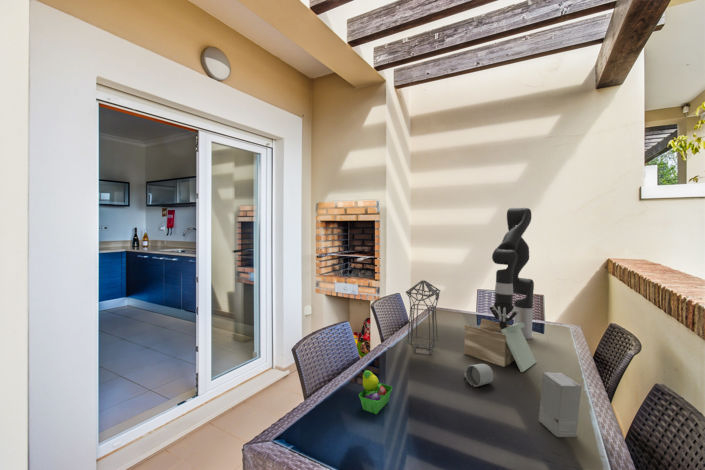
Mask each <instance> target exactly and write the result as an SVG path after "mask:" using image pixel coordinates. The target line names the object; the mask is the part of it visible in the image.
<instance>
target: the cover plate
mask: <svg viewBox="0 0 705 470" xmlns="http://www.w3.org/2000/svg"><path fill="white" fill-rule="evenodd" d="M523 327H525V325H524V323H523V322H521V323H516V324H514V323H513V324H512V325H511V326H509V327H507V328H505V329H502V330H501V331H502V333H503V335H506V338H505V340H506V342H507V344H508V346H509V348H510V350H511V352H512V355H513V357H514V359H515V360H514V361H515V364H516V365H517V367H518V369H519V371H520V373H523V372H525V371H527V369H529V368H530V367H532V366H533V365H535V364H536V363H537V359H536V358H535V355H534V354H533V352H532V350H531V347H530V345H529V343H528V341H527V339H525V337H524V335H523V333H522V331H521V328H523Z"/></svg>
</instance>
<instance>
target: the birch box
mask: <svg viewBox="0 0 705 470" xmlns="http://www.w3.org/2000/svg"><path fill="white" fill-rule="evenodd" d="M480 320H481V322H480V323H479V324H480V326H479V327H480V328H479V327H476V326H472V325H469V324H468V325H467V324H464V351H463V352H464V353H463V354H465V355H467V356H470V357H473V358H477V359H480V360H482V361H485V362H488V363H492V364H494V365H498V366H500V367H504V368H505V367H507V366H509V365H510V364H511V363H513V362H514V361H515V359H514V357H513V355H512V352H511V350H510V348H509V346H508V344H507V342H506V340H505V338H506V335H503V333H502V331H501V330H502V329H501V328H500V326H499V325H500V322H496V321H492V320H488V319H485V318H481V319H480ZM509 326H511V325H510V324H507V327H509ZM495 332H497V333H495ZM499 333H501V334H499Z"/></svg>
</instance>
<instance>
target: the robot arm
mask: <svg viewBox="0 0 705 470" xmlns="http://www.w3.org/2000/svg"><path fill="white" fill-rule="evenodd" d="M531 221H532V210H531V209H530V208H528V207H511V208H508V209H507V210H506V223H507V230H508V231H507V232H506V233H505V234H504V237H503V238H502V241H501V242H500V244H499V245H498V246H497V247H496V248H495V249H494V251H493V253H492V254H491V259H492V261H493V263H495V264H496V265H503V266H504V265H505V266H506V265H507V267H506V268H503V269H502V268H501V269H497V270H496V272H495V287H494V304H493V305H492V306H490V307H489V310H490V312H491V314H492V315H493V316H494V319H496V320H498V321H499V323H500V325H499V326H500V328H501V329H505V328H507V325H508V322H510V321H512V320H513V324H516V323H521V322H523V323H524V325H525V327H523V328H521V331H522V333H523V335H524V337H525V339H526V340H531V339H533V311H534V310H533V305H534V290H535V288H534V287H535V283H534V280H533V279H532V278H526V277H525V278H523V277H519V274H520V273H521V271H522V270H523V269H524V267H526V265H527V264H528V261H529V259H530V247H529V244H528V243H527V242H526V241H525V239H524V238H523V236H524V233H525V232H526V231H527V229H528V227H529V226H530V225H531ZM514 294H516V295H522V296H525V297H524V298H520V299H515V300H514ZM513 300H514V301H513ZM510 313H511V315H509V314H510Z"/></svg>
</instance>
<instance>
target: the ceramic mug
mask: <svg viewBox="0 0 705 470" xmlns="http://www.w3.org/2000/svg"><path fill="white" fill-rule="evenodd" d="M463 375H464V378H466V380H467V382H468V383H469V384H470V385H471V386H472V385H473V386H472V387H480V386H483V385H487V384H490V383H491V382H493V380H494V376H495V375H494V371H493V369H492V368H491V366H489V365H488V364H486V363H478V364H476V363H475V364H470V365H468V366H467V367H466V369H465V372H464V374H463Z"/></svg>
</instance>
